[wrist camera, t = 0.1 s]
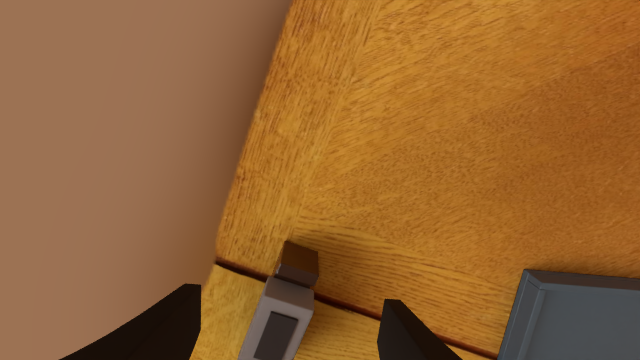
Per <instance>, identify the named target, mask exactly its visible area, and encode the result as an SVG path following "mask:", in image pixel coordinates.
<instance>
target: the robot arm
mask: <svg viewBox="0 0 640 360" xmlns="http://www.w3.org/2000/svg"><path fill="white" fill-rule="evenodd" d="M200 330H201V285H198V284H184V285H182V286H181V287H179V288H178V289H177V290H175V291H173V292H172V293H170V294H169V295H168V296H166V297H165V298H163V299H162V300H160V301H159V302H158V303H156V304H155V305H153V306H152V307H151V308H149V309H147V310H146V311H144V312H143V313H141V314H140V315H138V316H137V317H135V318H134V319H132V320H130V321H129V322H127V323H125V324H124V325H122V326H121V327H119V328H117V329H116V330H114V331H113V332H111V333H109V334H108V335H106V336H104V337H102V338H100V339H99V340H97V341H95V342H93V343H91V344H89V345H88V346H86V347H84V348H82V349H80V350H78V351H76V352H74V353H72V354H70V355H68V356H66V357H64V358H62V359H59V360H189V358H190V356H191V354H192V351H193V349H194V346H195V344H196V341H197V338H198V336H199V333H200ZM377 345H378V351H379V357H380V360H462V359H461V358H460V357H459V356H458V355H457V354H456V353H454V352H453V351H452V350H451V349H450V348H449V347H448V346H446V345H445V344H444V343H443V342H442V341H441V340H440V339H439V338H438V337H437V336H436V335H435V334H434V333H433V332H432V331H431V330H430V329H429V328H428V327H427V326H426V325H425V324H424V323H423V322H422V321H421V320H420V319H419V318H418V317H417V316H416V315H415V314H414V313H413V312H412V311H411V310H410V309H409V308H408V307H407V306H406V305H405V304H404V303H403V302H402V301H401V300H396V299H385V300H384V306H383V311H382V317H381V323H380V328H379V334H378V339H377Z"/></svg>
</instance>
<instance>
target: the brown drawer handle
mask: <svg viewBox="0 0 640 360" xmlns="http://www.w3.org/2000/svg"><path fill="white" fill-rule="evenodd" d="M271 277H274V278H277V279H280V280H283V281H286V282H290V283H293V284H296V285H299V286H302V287H305V288H308V289H310V287H311V286H315V285H316V282H317V280H318V277H319V263H318V252H317V251H315V250H312V249H309V248H306V247H303V246H300V245H297V244H294V243H291V242H288V241H285V242H284V244H283V247H282V249H281V252H280V255H279V257H278V260H277V262H276V265H275V268H274V270H273V273H272V275H271Z"/></svg>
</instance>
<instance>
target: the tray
mask: <svg viewBox="0 0 640 360" xmlns="http://www.w3.org/2000/svg"><path fill="white" fill-rule="evenodd" d="M497 360H640V279H636V278H624V277H612V276H600V275H588V274H576V273H564V272H552V271H540V270H528V269H524V271H523V274H522V278H521V281H520V285H519V288H518V291H517V295H516V298H515V301H514V305H513V308H512V311H511V315H510V318H509V321H508V325H507V328H506V332H505V335H504V338H503V342H502V345H501V348H500V352H499V355H498V358H497Z"/></svg>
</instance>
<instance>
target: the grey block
mask: <svg viewBox="0 0 640 360" xmlns="http://www.w3.org/2000/svg"><path fill="white" fill-rule="evenodd" d="M313 313H314V290H311V289H308V288H305V287H302V286H299V285H296V284H293V283H290V282H286V281H283V280H280V279H277V278H274V277H271V276H269V277H268V279H267V282H266V284H265V287H264V289H263V292H262V295H261V297H260V300H259V303H258V305H257V308H256V310H255V313H254V316H253V318H252V321H251V323H250V326H249V329H248V331H247V334H246V337H245V339H244V342H243V344H242V347H241V350H240V352H239V356H238V359H237V360H293V359H294V357H295V355H296V352H297V350H298V348H299V345H300V343H301V341H302V338H303V336H304V334H305V332H306V329H307V327H308V325H309V322H310V320H311V318H312V315H313Z"/></svg>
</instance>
